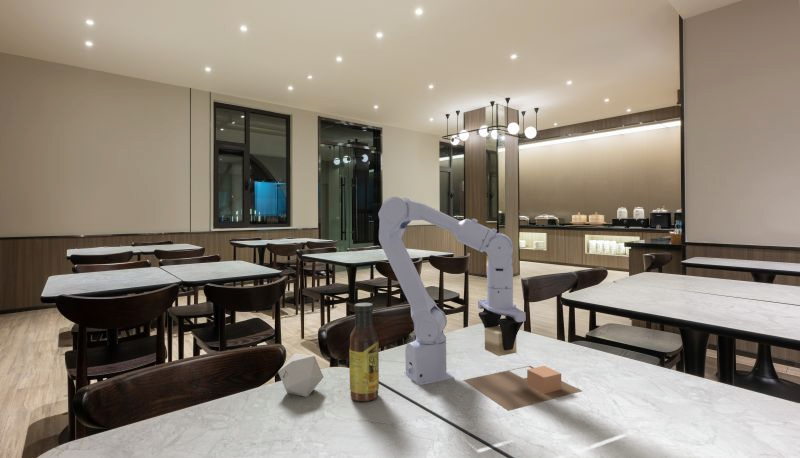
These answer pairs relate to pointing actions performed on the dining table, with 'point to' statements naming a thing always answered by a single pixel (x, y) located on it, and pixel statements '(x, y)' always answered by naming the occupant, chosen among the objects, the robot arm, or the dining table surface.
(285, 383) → the die
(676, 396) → the dining table surface
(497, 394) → the build board
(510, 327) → the robot arm
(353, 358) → the sauce bottle
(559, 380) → the terracotta base block
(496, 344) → the maple block
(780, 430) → the dining table surface
